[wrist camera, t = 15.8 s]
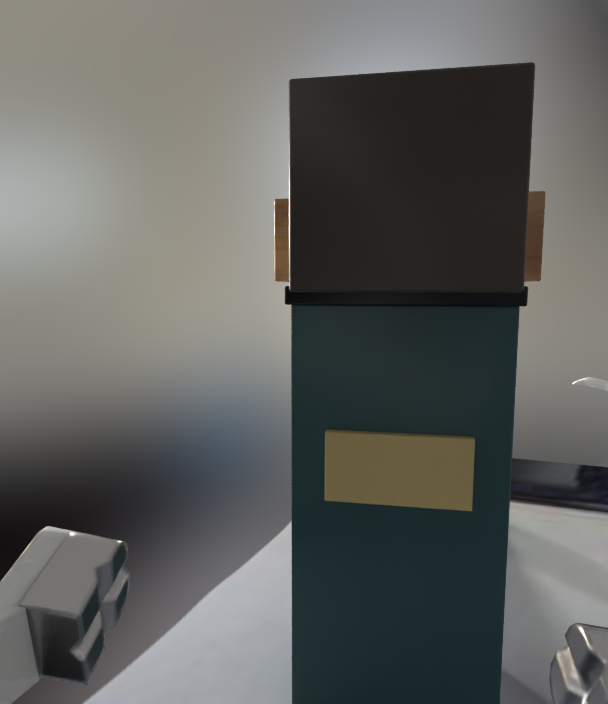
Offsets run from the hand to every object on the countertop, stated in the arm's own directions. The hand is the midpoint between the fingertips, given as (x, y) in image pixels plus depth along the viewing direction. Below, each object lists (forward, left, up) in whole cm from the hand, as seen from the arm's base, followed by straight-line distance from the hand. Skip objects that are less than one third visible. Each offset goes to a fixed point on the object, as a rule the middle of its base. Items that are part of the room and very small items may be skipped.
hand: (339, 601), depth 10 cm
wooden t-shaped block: (+1, +10, +6) cm, 12 cm away
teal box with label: (+1, +24, -20) cm, 31 cm away
